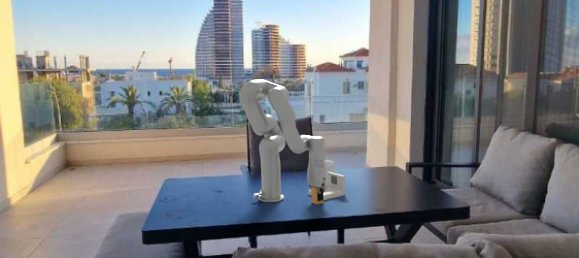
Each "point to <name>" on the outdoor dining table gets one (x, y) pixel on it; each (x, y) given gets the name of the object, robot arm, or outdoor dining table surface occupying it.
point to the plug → (315, 195)
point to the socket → (334, 186)
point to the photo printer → (329, 166)
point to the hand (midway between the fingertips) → (317, 199)
